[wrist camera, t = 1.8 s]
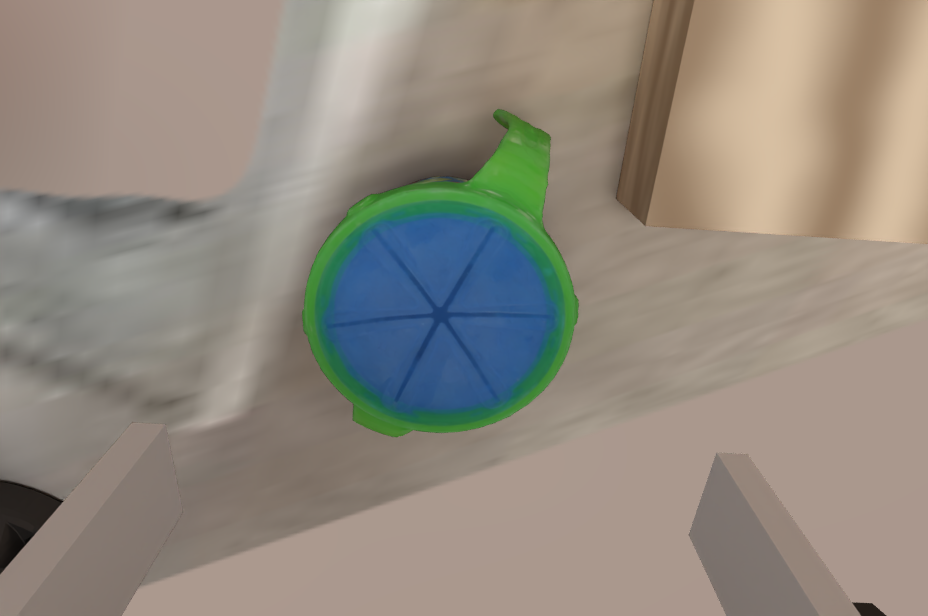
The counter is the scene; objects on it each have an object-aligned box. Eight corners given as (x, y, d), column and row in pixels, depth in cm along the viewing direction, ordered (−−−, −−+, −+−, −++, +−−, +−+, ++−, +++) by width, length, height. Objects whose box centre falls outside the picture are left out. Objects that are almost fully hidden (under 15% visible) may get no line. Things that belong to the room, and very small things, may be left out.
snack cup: (441, 52, 26) (434, 55, 17) (609, 176, 29) (682, 236, 20) (293, 300, 32) (227, 403, 22) (446, 385, 34) (443, 509, 25)
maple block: (616, 198, 29) (645, 225, 25) (677, -126, 23) (730, -168, 19) (868, 215, 30) (942, 244, 26) (991, -97, 24) (1115, -130, 20)
